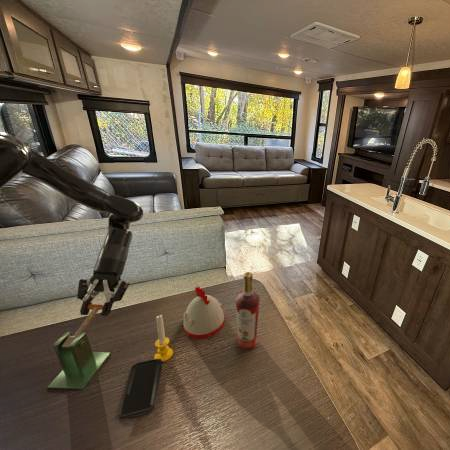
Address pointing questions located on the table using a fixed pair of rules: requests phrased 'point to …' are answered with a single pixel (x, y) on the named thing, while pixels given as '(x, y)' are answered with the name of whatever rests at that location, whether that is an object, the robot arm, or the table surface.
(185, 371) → the table surface
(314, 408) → the table surface
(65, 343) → the lever
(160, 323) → the candle
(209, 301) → the kitchen timer
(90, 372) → the bracket
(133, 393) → the phone
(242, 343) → the liquor
